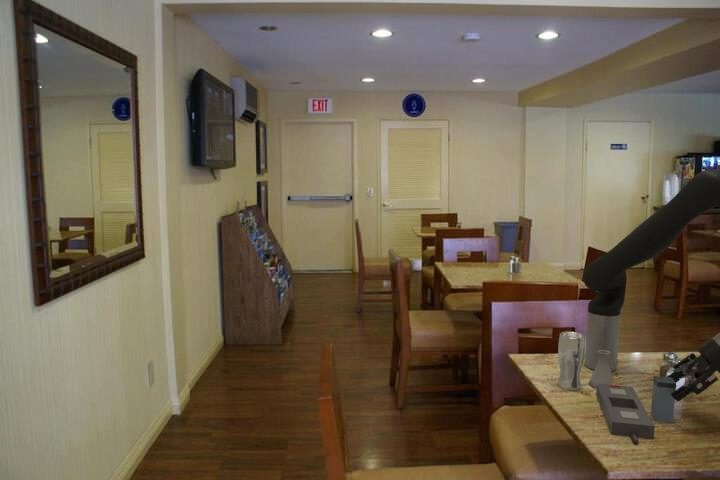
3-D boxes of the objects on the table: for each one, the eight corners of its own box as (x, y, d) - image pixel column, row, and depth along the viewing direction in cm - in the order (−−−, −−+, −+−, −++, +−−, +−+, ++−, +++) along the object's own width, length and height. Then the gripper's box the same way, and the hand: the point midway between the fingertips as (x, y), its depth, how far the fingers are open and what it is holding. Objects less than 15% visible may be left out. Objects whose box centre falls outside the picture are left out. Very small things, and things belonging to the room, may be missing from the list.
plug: (650, 414, 144) (653, 376, 142) (668, 415, 143) (671, 377, 141) (654, 421, 140) (657, 382, 138) (673, 423, 139) (676, 383, 137)
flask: (618, 391, 158) (620, 356, 157) (590, 389, 159) (592, 354, 158) (612, 381, 165) (614, 348, 164) (585, 379, 166) (587, 346, 165)
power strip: (596, 393, 156) (596, 381, 156) (631, 397, 154) (632, 384, 153) (614, 442, 129) (615, 427, 129) (658, 447, 127) (659, 432, 126)
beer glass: (579, 392, 157) (582, 340, 155) (553, 387, 160) (556, 336, 158) (584, 384, 163) (587, 333, 161) (559, 379, 166) (562, 329, 164)
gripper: (704, 330, 143) (651, 370, 147) (725, 347, 129) (665, 391, 133) (726, 352, 142) (672, 391, 147) (749, 372, 129) (689, 415, 133)
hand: (669, 391), depth 140 cm, fingers open, 8 cm apart
